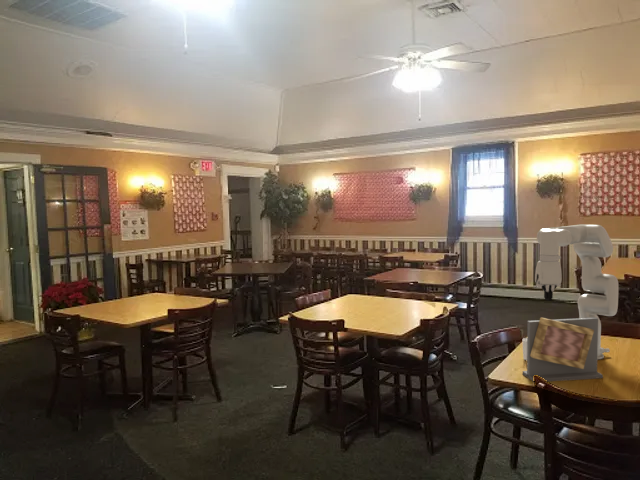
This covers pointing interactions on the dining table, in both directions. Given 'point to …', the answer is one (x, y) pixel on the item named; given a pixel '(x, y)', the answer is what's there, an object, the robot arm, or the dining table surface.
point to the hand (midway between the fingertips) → (548, 300)
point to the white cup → (524, 348)
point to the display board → (561, 371)
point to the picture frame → (561, 343)
